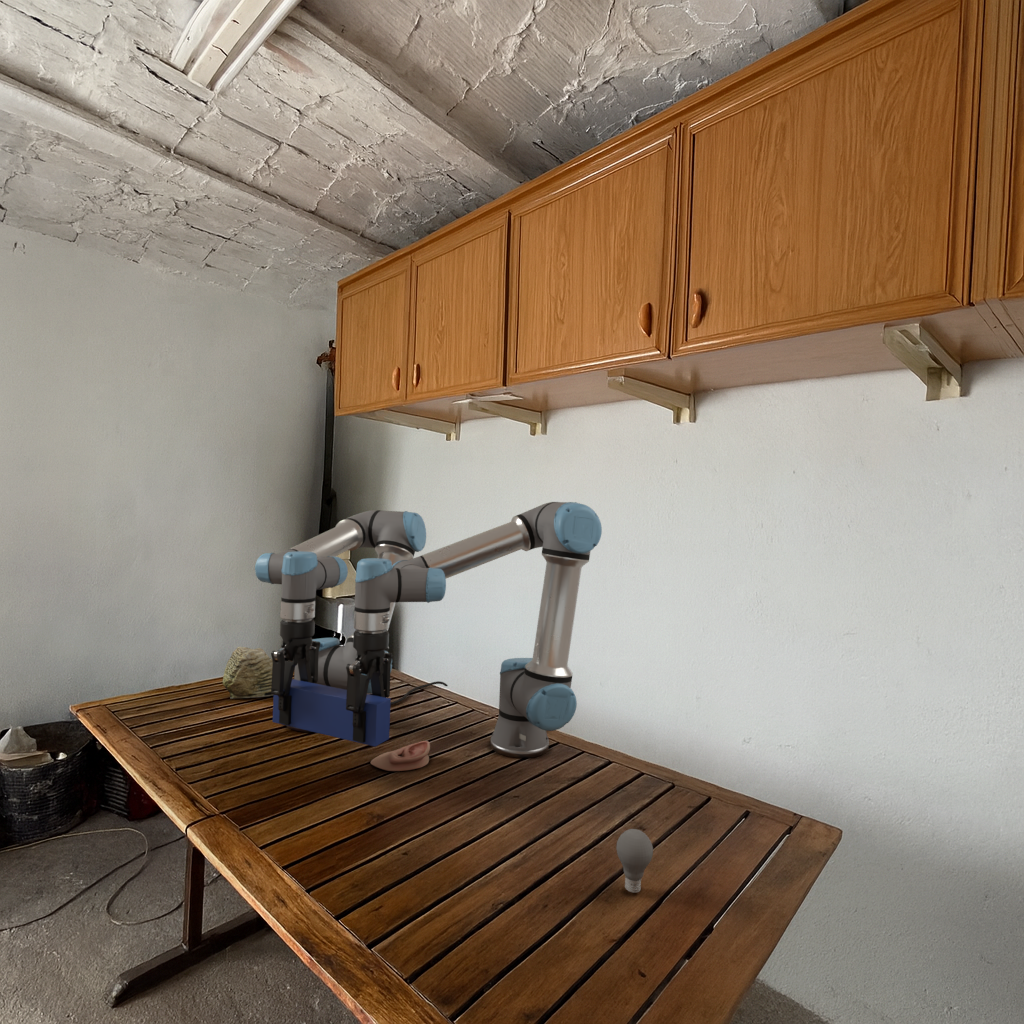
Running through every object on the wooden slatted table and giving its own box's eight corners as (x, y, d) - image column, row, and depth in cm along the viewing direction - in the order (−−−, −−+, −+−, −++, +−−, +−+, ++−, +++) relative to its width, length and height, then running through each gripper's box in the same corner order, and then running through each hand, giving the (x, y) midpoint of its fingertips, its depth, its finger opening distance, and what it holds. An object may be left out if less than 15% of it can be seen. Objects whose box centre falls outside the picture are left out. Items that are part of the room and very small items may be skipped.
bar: (272, 722, 145) (273, 683, 145) (288, 715, 150) (289, 678, 150) (375, 746, 134) (376, 705, 133) (389, 738, 138) (390, 698, 138)
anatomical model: (365, 751, 148) (384, 733, 160) (364, 767, 148) (384, 749, 160) (419, 758, 146) (435, 740, 157) (418, 775, 146) (434, 756, 157)
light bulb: (610, 879, 108) (613, 822, 108) (644, 879, 109) (647, 822, 109) (619, 902, 102) (622, 840, 102) (655, 901, 103) (658, 840, 103)
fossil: (218, 695, 195) (220, 647, 195) (278, 685, 208) (279, 640, 207) (228, 703, 189) (230, 653, 188) (289, 692, 201) (290, 645, 201)
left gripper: (281, 627, 136) (277, 735, 136) (336, 615, 152) (333, 711, 153) (254, 623, 139) (251, 729, 139) (312, 611, 155) (308, 705, 156)
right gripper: (359, 640, 127) (355, 754, 128) (409, 625, 144) (405, 726, 144) (329, 635, 130) (325, 747, 131) (381, 621, 147) (377, 720, 147)
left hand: (294, 719), depth 146 cm, fingers closed on bar, 5 cm apart
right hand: (367, 736), depth 138 cm, fingers closed on bar, 5 cm apart
